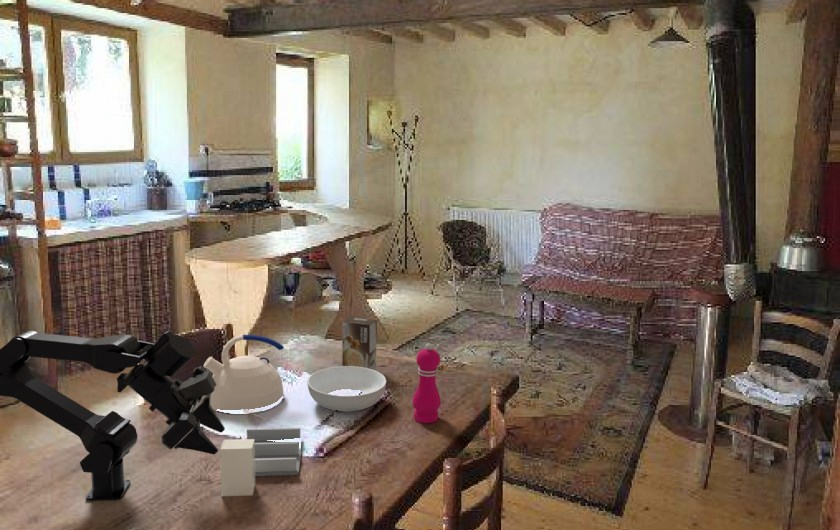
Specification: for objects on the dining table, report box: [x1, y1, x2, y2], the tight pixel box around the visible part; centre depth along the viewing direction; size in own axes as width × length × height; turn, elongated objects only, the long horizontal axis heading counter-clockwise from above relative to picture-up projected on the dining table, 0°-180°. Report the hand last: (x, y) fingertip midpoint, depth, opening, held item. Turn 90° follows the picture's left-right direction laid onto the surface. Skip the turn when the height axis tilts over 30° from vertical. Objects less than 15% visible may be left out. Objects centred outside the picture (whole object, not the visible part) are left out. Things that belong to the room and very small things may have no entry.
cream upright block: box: [219, 438, 256, 497], centre depth 129 cm, size 4×6×10 cm, turn 97°
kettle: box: [203, 334, 285, 410], centre depth 172 cm, size 20×21×18 cm
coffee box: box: [341, 316, 378, 371], centre depth 196 cm, size 9×6×16 cm
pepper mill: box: [412, 342, 442, 424], centre depth 164 cm, size 7×7×20 cm
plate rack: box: [246, 427, 302, 477], centre depth 143 cm, size 15×13×4 cm
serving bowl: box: [306, 365, 387, 412], centre depth 173 cm, size 21×21×7 cm
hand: (220, 441), depth 127 cm, fingers open, 9 cm apart
